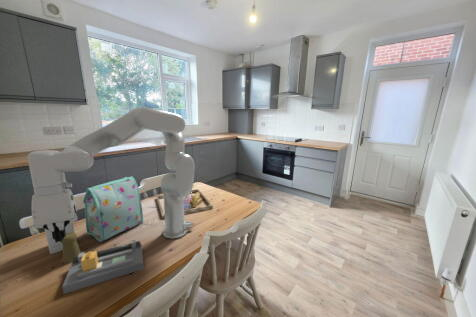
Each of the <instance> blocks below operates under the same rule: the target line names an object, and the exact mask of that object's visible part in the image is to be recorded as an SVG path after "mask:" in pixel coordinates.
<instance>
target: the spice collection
mask: <svg viewBox="0 0 476 317" xmlns="http://www.w3.org/2000/svg"><path fill="white" fill-rule="evenodd" d="M193 196H194V197H193ZM183 198H184V210H188V209H193V208H198V205H202V204H203V202H202V201H204V200H203V198H202V197H201V196H200V193H198V192H196V193H194V195H192V193H191V194H189V195H188V196H187V197H183ZM201 203H202V204H201Z"/></svg>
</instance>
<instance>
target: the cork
mask: <svg viewBox="0 0 476 317" xmlns="http://www.w3.org/2000/svg"><path fill="white" fill-rule="evenodd" d="M77 238H78V234H77V233H76V232H75V231H74V232H71V233H67V234H66V237H64V239H63V240H62V241H61V243H62V244H63V250H62V263H63V264H70V263H71V264H72V262H73V258H74V257H78V255H79V253H82V252H81V250H80V247H79V244H78V242H77Z"/></svg>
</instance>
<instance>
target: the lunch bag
mask: <svg viewBox="0 0 476 317" xmlns="http://www.w3.org/2000/svg"><path fill="white" fill-rule="evenodd" d="M140 195H141V194H140V189H139V185H138V183H137V181H136V179H135V178H134V176H132V175H131V176H125V177H123V178H120V179H117V180H115V179H114V180H111V181H108V182H104V183H102V184H98V185H97V184H96V185H94V186H92V187H87V188H86V190H85V194H84V197H83V200H82V203H83V204H84V211H85V212H84V214H85V227H86V228H85V229H86V232H87V234H88V235H91V236H92V237H93V238H94V239H95V240H96V241H97V242H99V243H102V242H103V241H104V242H105V241H106V240H108V239H111V238H112V237H114V236H116V235H118V234H120V233H121V232H125V231H126V230H129V229H131V228H134V227H136V226H139V225H141V224H143V223H144V215H143V214H144V213H143V207H142V200H141V196H140Z"/></svg>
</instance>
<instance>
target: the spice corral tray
mask: <svg viewBox="0 0 476 317" xmlns="http://www.w3.org/2000/svg"><path fill="white" fill-rule="evenodd" d="M191 192H198V193H200V195H201V196H200V197H202V198H203V199H204V200H205V201H204V200H203V201H204V202H205V203H206V205H203V206H197V207H195V208H190V209H187V210H185V209H184V216H185V215H189V214H194V213H198V212H203V211H207V210H212V209H214V208H213V207H214V206H213V204H212V202H210V201H209V199H208V197H206V196H205V195H204V194H203V192H201V190H199V189H198V188H195V189H192V191H191ZM155 198H157V199H156V201H157V202H156V203H157V204H158V205H157V206H158V208H159V212H160V216H161V218H162V220H165V213H164V211H163V208H162V204H161V201H160V199H159V198H161V199H164V198H163V194H159V195H156V197H155Z"/></svg>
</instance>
